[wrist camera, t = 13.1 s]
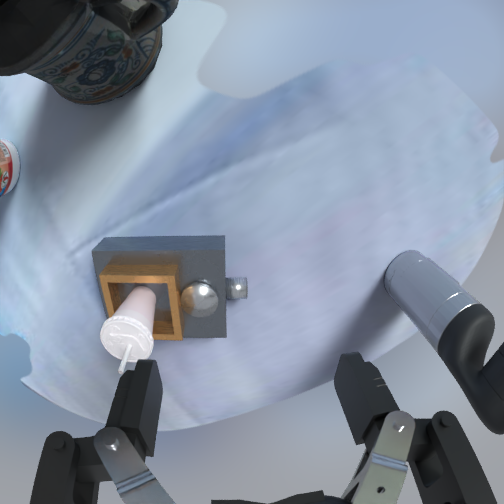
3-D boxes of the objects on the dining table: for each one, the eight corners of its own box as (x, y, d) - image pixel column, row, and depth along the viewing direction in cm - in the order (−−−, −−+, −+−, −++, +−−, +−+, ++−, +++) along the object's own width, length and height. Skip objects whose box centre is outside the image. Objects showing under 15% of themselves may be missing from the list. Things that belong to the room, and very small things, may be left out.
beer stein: (47, 45, 26) (-71, 16, 4) (160, -27, 25) (109, -133, 2) (83, 128, 33) (-54, 150, 10) (207, 54, 31) (181, -48, 8)
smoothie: (157, 323, 40) (137, 397, 28) (117, 305, 39) (83, 374, 26) (172, 289, 38) (152, 363, 26) (129, 269, 37) (91, 336, 24)
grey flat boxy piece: (246, 235, 42) (251, 259, 34) (244, 317, 47) (248, 350, 40) (104, 237, 40) (82, 260, 32) (120, 316, 45) (106, 346, 38)
